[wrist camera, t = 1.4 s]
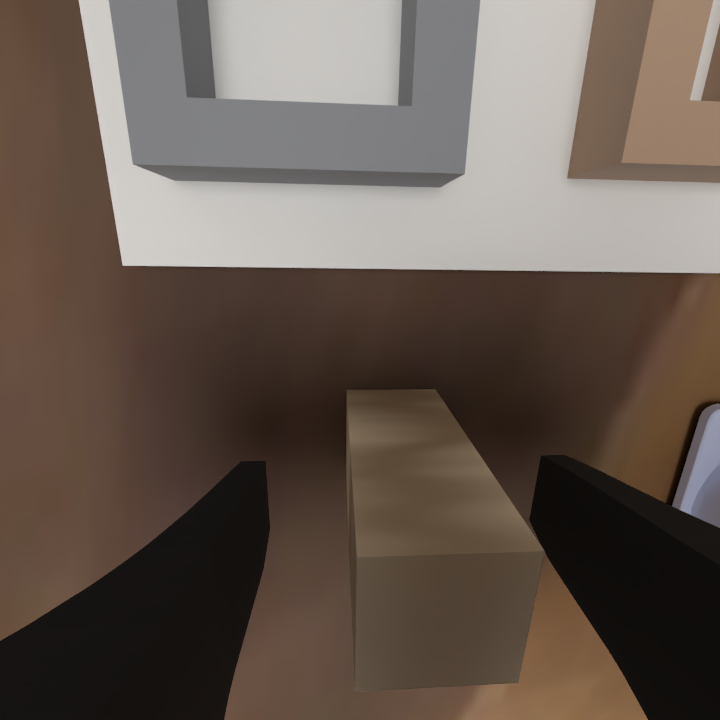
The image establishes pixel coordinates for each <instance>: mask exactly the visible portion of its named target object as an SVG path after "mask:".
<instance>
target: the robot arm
mask: <svg viewBox="0 0 720 720" xmlns="http://www.w3.org/2000/svg"><path fill="white" fill-rule="evenodd" d="M530 522H531V524H532V527H533V529H534V531H535V533H536V535H537V537H538V539H539V541H540V543H541V545H542V547H543V549H544V551H545V553H546V555H547V557H548V559H549V560H550V562H551V563H552V565H553V567H554V568H555V570H556V571H557V573H558V574H559V576H560V577H561V579H562V580H563V582H564V584H565V585H566V587H567V588H568V590H569V591H570V593H571V594H572V596H573V597H574V599H575V600H576V602H577V603H578V605H579V606H580V608H581V609H582V611H583V612H584V614H585V615H586V617H587V618H588V620H589V621H590V623H591V624H592V626H593V628H594V629H595V631H596V632H597V634H598V635H599V637H600V638H601V640H602V641H603V643H604V644H605V646H606V647H607V649H608V650H609V652H610V653H611V655H612V657H613V658H614V660H615V662H616V663H617V665H618V666H619V668H620V670H621V671H622V673H623V675H624V676H625V678H626V680H627V682H628V684H629V686H630V687H631V689H632V691H633V693H634V695H635V696H636V698H637V700H638V702H639V704H640V706H641V707H642V709H643V711H644V713H645V715H646V716H647V718H648V720H720V404H713V405H711V406H709V407H707V408H706V409H705V410H704V411H703V412H702V413H701V415H700V418H699V421H698V424H697V427H696V430H695V434H694V437H693V440H692V443H691V447H690V450H689V453H688V456H687V459H686V463H685V466H684V469H683V472H682V475H681V479H680V482H679V485H678V488H677V492H676V495H675V498H674V501H673V504H672V506H670V505H668V504H666V503H664V502H662V501H660V500H658V499H656V498H654V497H652V496H650V495H648V494H645V493H643V492H641V491H639V490H637V489H635V488H633V487H631V486H629V485H627V484H625V483H623V482H621V481H619V480H617V479H615V478H613V477H611V476H609V475H607V474H605V473H603V472H601V471H599V470H597V469H594V468H592V467H590V466H588V465H586V464H584V463H581V462H579V461H577V460H575V459H572V458H570V457H567V456H564V455H548V456H541V459H540V464H539V470H538V476H537V481H536V487H535V492H534V498H533V503H532V509H531V514H530ZM269 531H270V522H269V507H268V492H267V477H266V462H265V461H247V462H240V463H239V464H238V465H237V466H236V467H235V468H234V469H232V470H231V471H230V472H229V473H228V474H227V475H226V476H225V477H224V478H223V479H222V480H221V481H220V482H219V483H218V484H217V485H216V486H214V487H213V488H212V489H211V490H210V491H209V492H208V493H207V494H206V495H205V496H204V497H203V498H202V499H201V500H199V501H198V502H197V503H196V504H195V505H194V506H193V507H192V508H191V509H190V510H188V511H187V512H186V513H185V514H184V515H183V516H181V517H180V518H179V519H178V520H177V521H175V522H174V523H173V524H172V525H171V526H169V527H168V528H167V529H166V530H165V531H163V532H162V533H161V534H160V535H159V536H157V537H156V538H155V539H154V540H153V541H151V542H150V543H149V544H148V545H146V546H145V547H144V548H142V549H141V550H140V551H138V552H137V553H136V554H134V555H133V556H132V557H130V558H129V559H128V560H126V561H125V562H124V563H122V564H121V565H119V566H118V567H116V568H115V569H114V570H112V571H111V572H109V573H108V574H107V575H105V576H104V577H102V578H101V579H99V580H98V581H96V582H95V583H94V584H92V585H91V586H89V587H87V588H86V589H84V590H83V591H81V592H80V593H78V594H76V595H75V596H73V597H72V598H70V599H68V600H67V601H65V602H64V603H62V604H61V605H59V606H57V607H56V608H54V609H53V610H51V611H49V612H48V613H46V614H45V615H43V616H41V617H40V618H38V619H37V620H35V621H34V622H32V623H30V624H29V625H27V626H25V627H24V628H22V629H20V630H19V631H17V632H15V633H13V634H12V635H10V636H8V637H6V638H5V639H3V640H1V641H0V720H224V717H225V712H226V707H227V702H228V697H229V693H230V688H231V684H232V680H233V676H234V672H235V668H236V665H237V661H238V658H239V654H240V651H241V647H242V643H243V640H244V636H245V633H246V629H247V626H248V622H249V619H250V615H251V611H252V608H253V604H254V601H255V597H256V594H257V590H258V586H259V583H260V579H261V575H262V572H263V568H264V562H265V556H266V550H267V544H268V537H269Z"/></svg>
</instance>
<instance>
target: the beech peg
mask: <svg viewBox="0 0 720 720" xmlns="http://www.w3.org/2000/svg"><path fill="white" fill-rule="evenodd" d="M346 477H347V503H348V529H349V555H350V581H351V607H352V634H353V660H354V686H355V692H359V691H378V690H396V689H415V688H433V687H451V686H470V685H488V684H507V683H518V681H519V676H520V671H521V667H522V662H523V657H524V652H525V647H526V642H527V637H528V632H529V627H530V622H531V617H532V612H533V607H534V602H535V597H536V592H537V587H538V582H539V577H540V572H541V567H542V562H543V557H544V552H545V551H544V549H543V548H542V546H541V545H540V544H539V542H538V541H537V539H536V538H535V536H534V535H533V533H532V532H531V530H530V529H529V527H528V526H527V524H526V523H525V521H524V520H523V518H522V517H521V515H520V514H519V512H518V511H517V509H516V508H515V507H514V505H513V504H512V502H511V501H510V499H509V498H508V496H507V495H506V493H505V492H504V490H503V489H502V487H501V486H500V484H499V483H498V481H497V480H496V478H495V477H494V475H493V474H492V472H491V471H490V469H489V468H488V467H487V465H486V464H485V462H484V461H483V459H482V458H481V456H480V455H479V453H478V452H477V450H476V449H475V447H474V446H473V444H472V443H471V441H470V440H469V438H468V437H467V435H466V434H465V432H464V431H463V429H462V428H461V427H460V425H459V424H458V422H457V421H456V419H455V418H454V416H453V415H452V413H451V412H450V410H449V409H448V407H447V406H446V404H445V403H444V401H443V400H442V398H441V397H440V395H439V394H438V392H437V391H436V389H390V390H347V409H346Z"/></svg>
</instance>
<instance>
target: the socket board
mask: <svg viewBox="0 0 720 720" xmlns="http://www.w3.org/2000/svg"><path fill="white" fill-rule="evenodd" d="M79 5H80V11H81V17H82V23H83V29H84V35H85V41H86V47H87V53H88V59H89V65H90V71H91V77H92V83H93V89H94V95H95V101H96V107H97V113H98V119H99V125H100V131H101V137H102V143H103V149H104V155H105V161H106V167H107V173H108V180H109V186H110V192H111V198H112V204H113V210H114V216H115V222H116V228H117V234H118V240H119V246H120V252H121V258H122V264H123V266H198V267H276V268H353V269H430V270H508V271H585V272H662V273H720V0H79Z"/></svg>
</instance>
